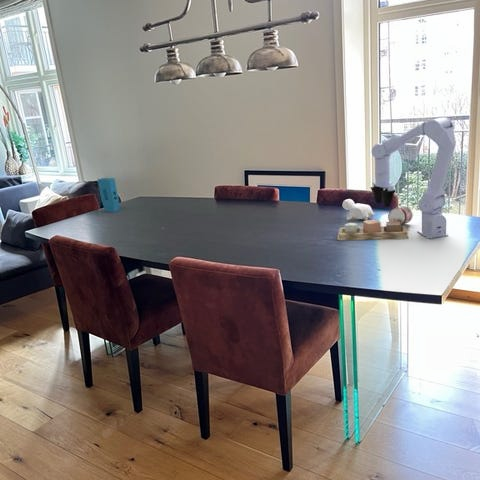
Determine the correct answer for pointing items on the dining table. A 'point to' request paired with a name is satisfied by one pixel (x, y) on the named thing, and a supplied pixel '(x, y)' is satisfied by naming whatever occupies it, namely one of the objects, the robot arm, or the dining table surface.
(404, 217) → the soda can
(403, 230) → the oak tray
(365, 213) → the white figurine
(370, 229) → the terracotta block
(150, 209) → the dining table surface
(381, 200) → the robot arm
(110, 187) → the block
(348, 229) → the seated pieces
